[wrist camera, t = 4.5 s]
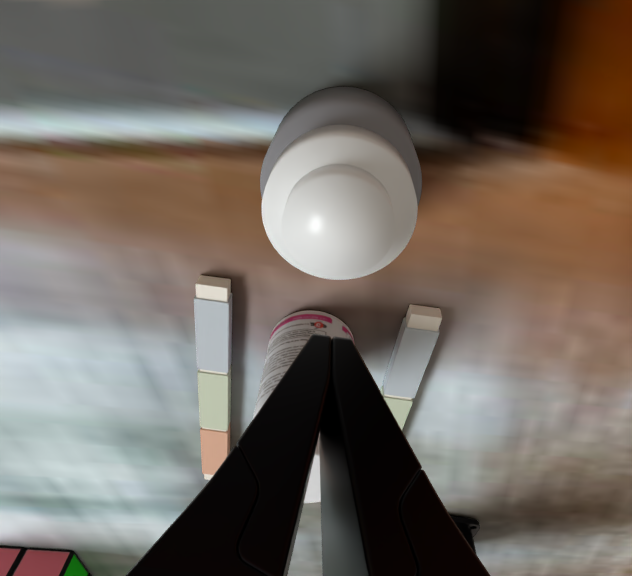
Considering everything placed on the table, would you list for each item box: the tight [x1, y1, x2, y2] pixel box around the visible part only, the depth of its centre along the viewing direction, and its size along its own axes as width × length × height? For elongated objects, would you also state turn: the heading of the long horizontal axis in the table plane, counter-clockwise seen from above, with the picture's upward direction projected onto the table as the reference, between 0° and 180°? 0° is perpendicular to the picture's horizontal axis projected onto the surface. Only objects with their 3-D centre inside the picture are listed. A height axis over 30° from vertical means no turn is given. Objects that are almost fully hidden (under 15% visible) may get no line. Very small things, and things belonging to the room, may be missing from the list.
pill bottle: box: [253, 310, 355, 503], centre depth 22 cm, size 5×5×8 cm
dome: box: [262, 125, 418, 280], centre depth 15 cm, size 5×5×2 cm
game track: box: [194, 86, 442, 480], centre depth 24 cm, size 13×28×3 cm, turn 173°
